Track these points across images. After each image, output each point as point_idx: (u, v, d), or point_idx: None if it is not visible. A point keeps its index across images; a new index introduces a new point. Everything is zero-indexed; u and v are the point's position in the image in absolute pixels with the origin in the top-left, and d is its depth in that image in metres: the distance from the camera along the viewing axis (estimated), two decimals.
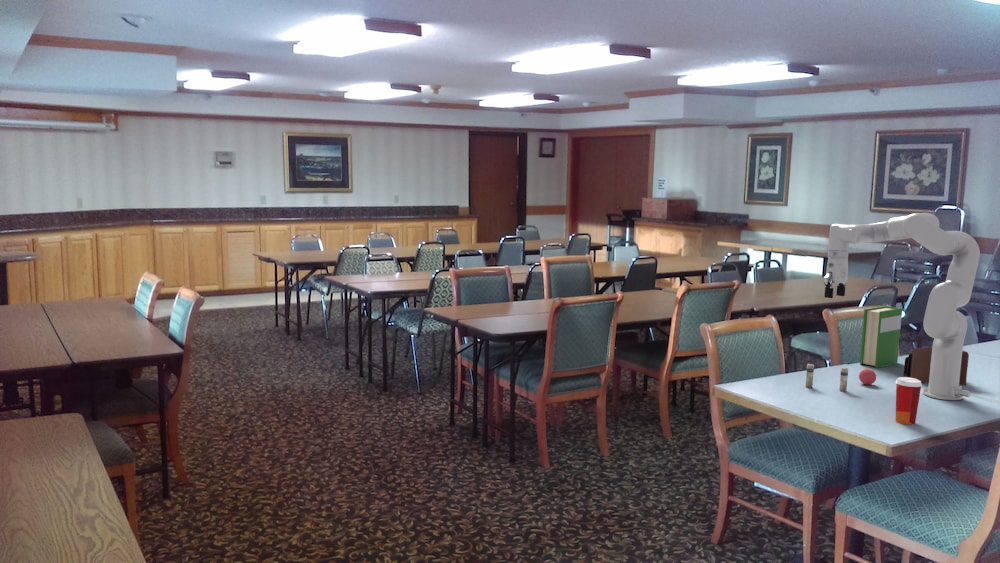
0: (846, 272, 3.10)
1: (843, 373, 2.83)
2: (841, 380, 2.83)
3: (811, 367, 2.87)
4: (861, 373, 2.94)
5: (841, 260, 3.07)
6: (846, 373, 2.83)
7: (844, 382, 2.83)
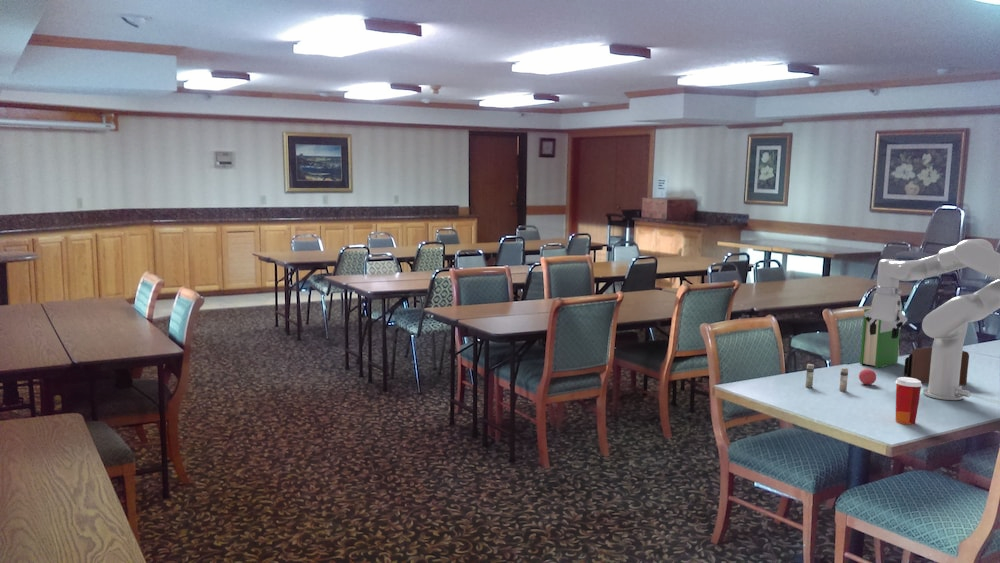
0: None
1: (843, 373, 2.83)
2: (841, 380, 2.83)
3: (811, 367, 2.87)
4: (861, 373, 2.94)
5: None
6: (846, 373, 2.83)
7: (844, 382, 2.83)
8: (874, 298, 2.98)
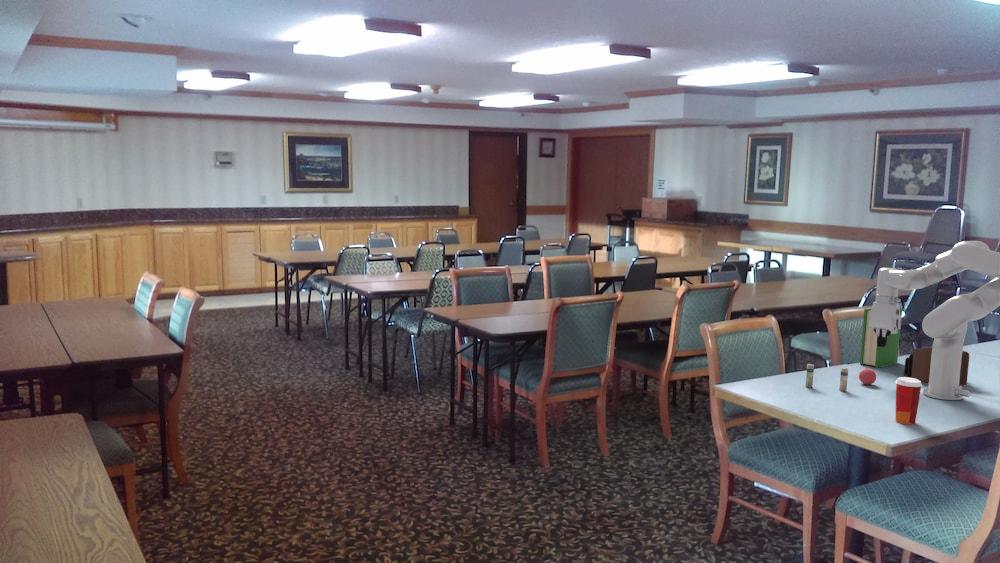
0: None
1: (843, 373, 2.83)
2: (841, 380, 2.83)
3: (811, 367, 2.87)
4: (861, 373, 2.94)
5: None
6: (846, 373, 2.83)
7: (844, 382, 2.83)
8: (873, 306, 2.98)
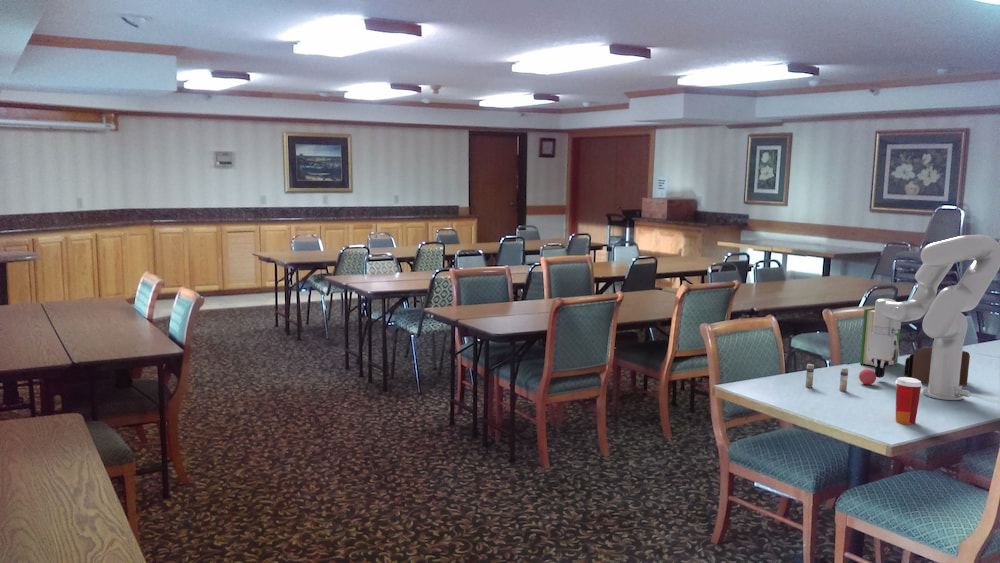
0: None
1: (843, 373, 2.83)
2: (841, 380, 2.83)
3: (811, 367, 2.87)
4: (861, 373, 2.94)
5: None
6: (846, 373, 2.83)
7: (844, 382, 2.83)
8: (871, 337, 3.00)
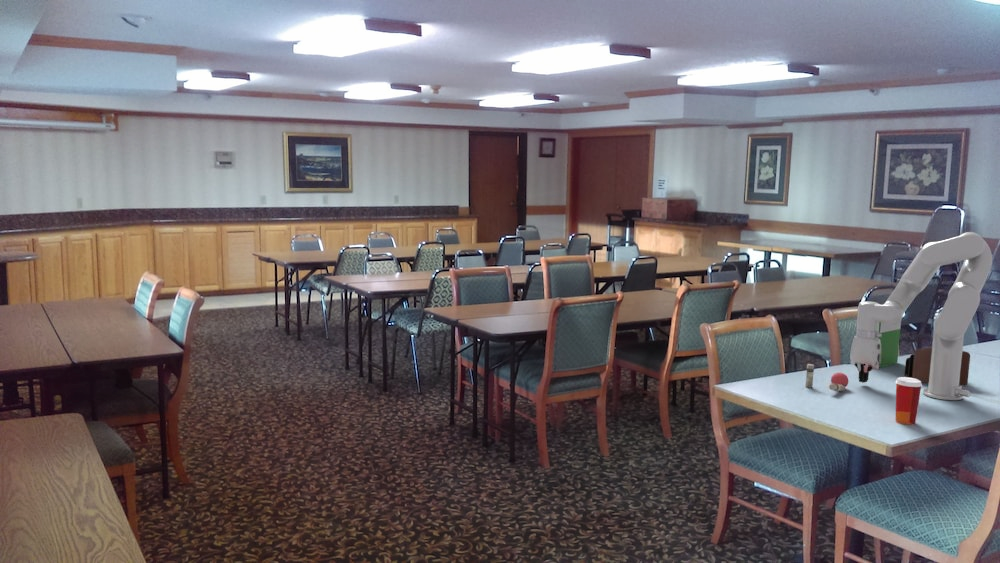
0: None
1: None
2: (836, 390, 2.81)
3: (811, 367, 2.87)
4: None
5: None
6: (836, 389, 2.78)
7: (839, 390, 2.81)
8: (854, 341, 2.92)
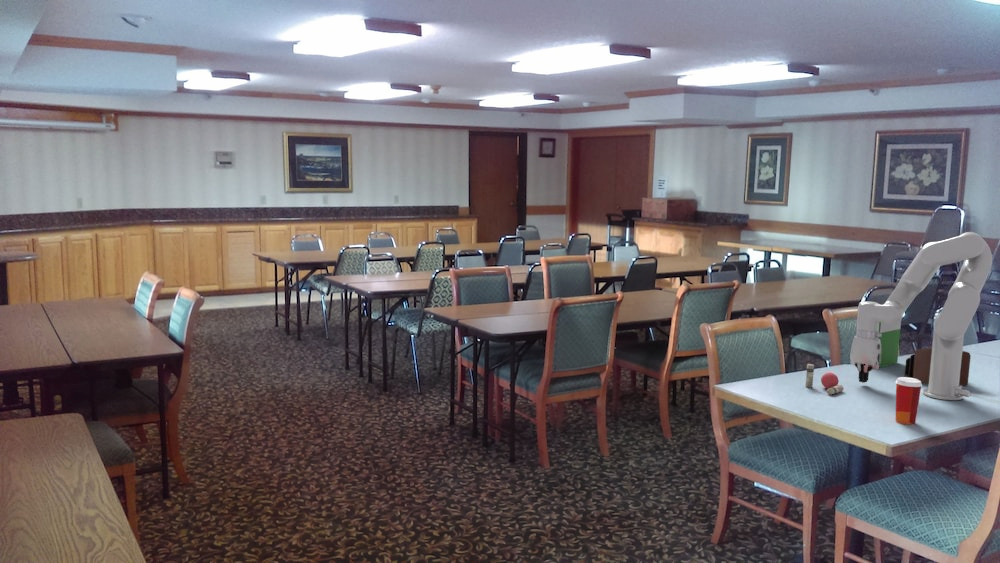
0: None
1: (833, 393, 2.79)
2: None
3: (811, 367, 2.87)
4: (822, 377, 2.88)
5: None
6: (835, 392, 2.78)
7: None
8: (854, 341, 2.92)
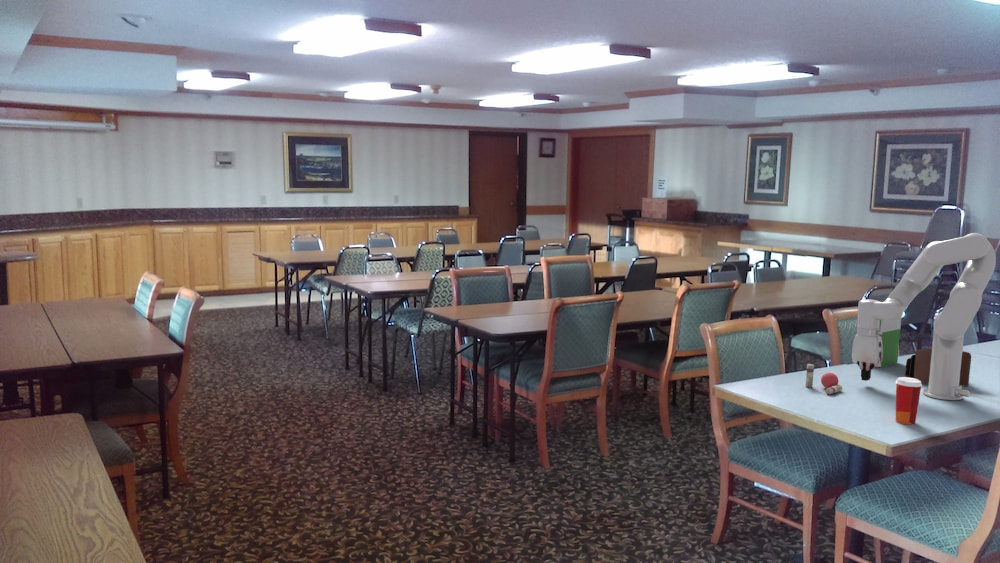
0: None
1: (833, 392, 2.79)
2: (835, 392, 2.81)
3: (811, 367, 2.87)
4: (822, 377, 2.88)
5: None
6: (833, 390, 2.79)
7: (837, 390, 2.81)
8: (855, 339, 2.92)
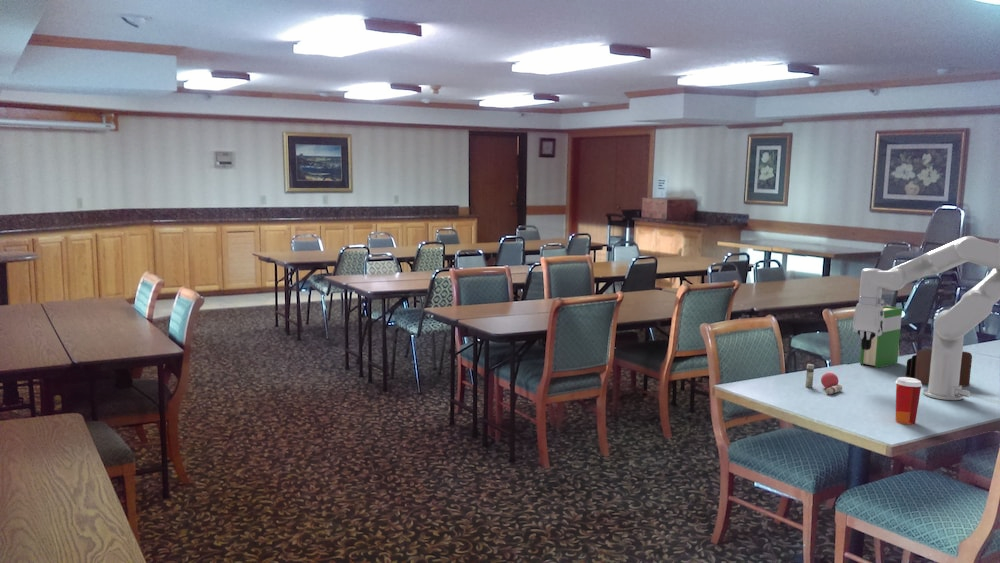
0: None
1: (833, 392, 2.79)
2: (835, 392, 2.81)
3: (811, 367, 2.87)
4: (822, 377, 2.88)
5: None
6: (833, 390, 2.79)
7: (837, 390, 2.81)
8: (856, 308, 2.91)
